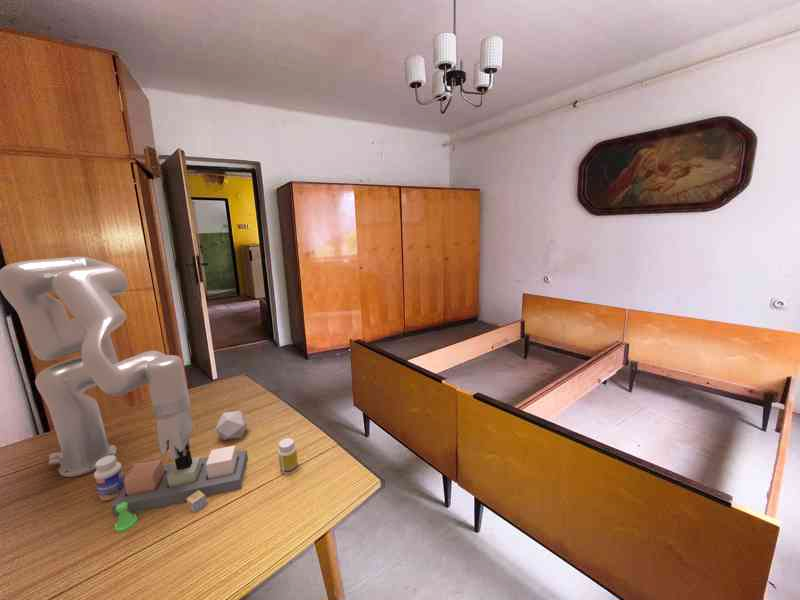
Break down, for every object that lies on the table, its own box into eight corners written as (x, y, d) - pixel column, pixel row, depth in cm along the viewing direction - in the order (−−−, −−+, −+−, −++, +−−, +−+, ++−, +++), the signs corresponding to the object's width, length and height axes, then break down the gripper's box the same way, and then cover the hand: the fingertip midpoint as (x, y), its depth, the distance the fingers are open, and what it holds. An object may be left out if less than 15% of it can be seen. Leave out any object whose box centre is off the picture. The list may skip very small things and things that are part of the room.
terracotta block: (127, 497, 81) (123, 481, 80) (138, 480, 87) (135, 464, 86) (155, 492, 83) (152, 475, 82) (165, 475, 89) (161, 459, 87)
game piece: (111, 535, 74) (105, 514, 72) (118, 520, 78) (112, 499, 76) (134, 528, 76) (129, 507, 74) (140, 513, 79) (135, 493, 78)
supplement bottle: (301, 465, 94) (298, 439, 92) (289, 476, 90) (286, 450, 88) (288, 460, 96) (285, 435, 94) (276, 471, 92) (273, 445, 90)
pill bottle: (96, 504, 82) (87, 471, 80) (103, 489, 87) (95, 457, 85) (124, 495, 85) (115, 463, 82) (129, 481, 89) (121, 450, 87)
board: (113, 517, 79) (110, 506, 78) (136, 480, 90) (134, 471, 89) (240, 488, 86) (239, 479, 86) (247, 458, 97) (246, 449, 97)
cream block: (208, 480, 86) (205, 464, 85) (214, 465, 92) (211, 449, 91) (233, 475, 88) (231, 459, 87) (237, 460, 94) (235, 445, 92)
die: (232, 449, 102) (249, 419, 104) (205, 437, 101) (223, 407, 103) (240, 442, 111) (256, 414, 113) (215, 430, 110) (232, 402, 112)
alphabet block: (194, 513, 79) (192, 503, 78) (188, 508, 81) (186, 497, 80) (207, 504, 82) (205, 494, 81) (200, 499, 83) (199, 489, 83)
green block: (170, 493, 84) (166, 477, 83) (178, 476, 90) (175, 461, 89) (196, 488, 86) (193, 471, 85) (203, 471, 91) (200, 456, 90)
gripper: (166, 392, 88) (178, 451, 93) (141, 424, 74) (156, 491, 79) (197, 388, 90) (208, 445, 95) (178, 418, 76) (192, 484, 81)
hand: (184, 466), depth 87 cm, fingers closed
